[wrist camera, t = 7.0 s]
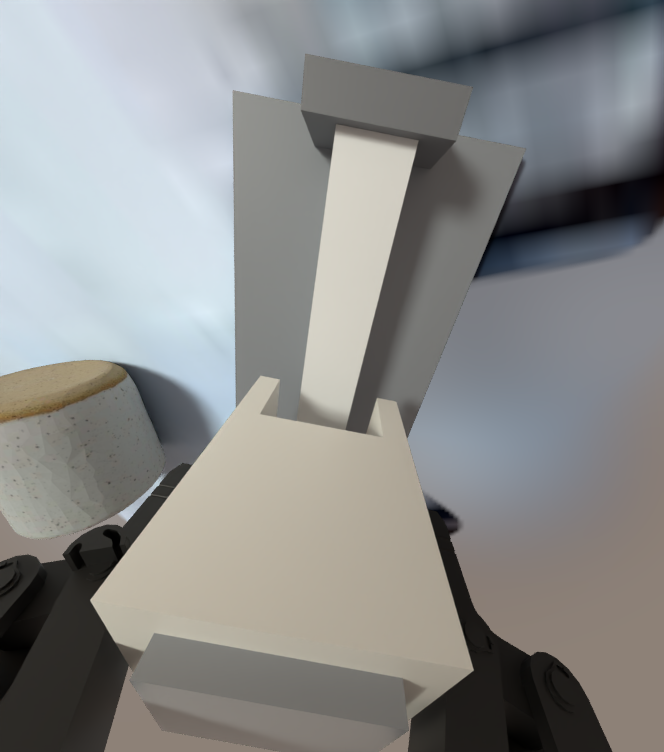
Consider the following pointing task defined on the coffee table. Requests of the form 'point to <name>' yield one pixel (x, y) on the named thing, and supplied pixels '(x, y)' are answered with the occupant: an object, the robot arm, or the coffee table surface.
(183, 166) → the coffee table surface
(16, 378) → the ceramic mug
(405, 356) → the rail base
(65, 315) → the coffee table surface
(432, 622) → the module
